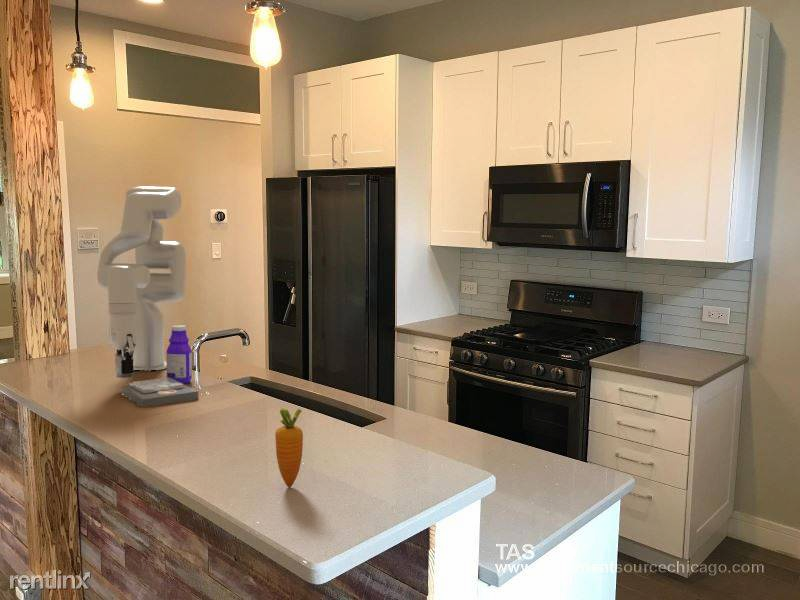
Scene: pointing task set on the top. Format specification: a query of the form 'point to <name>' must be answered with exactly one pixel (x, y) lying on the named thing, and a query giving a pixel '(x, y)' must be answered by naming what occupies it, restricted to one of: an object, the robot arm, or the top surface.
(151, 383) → the platform
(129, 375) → the cylinder
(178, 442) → the top surface
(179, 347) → the bottle
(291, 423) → the carrot
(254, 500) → the top surface
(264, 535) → the top surface
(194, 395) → the scale
